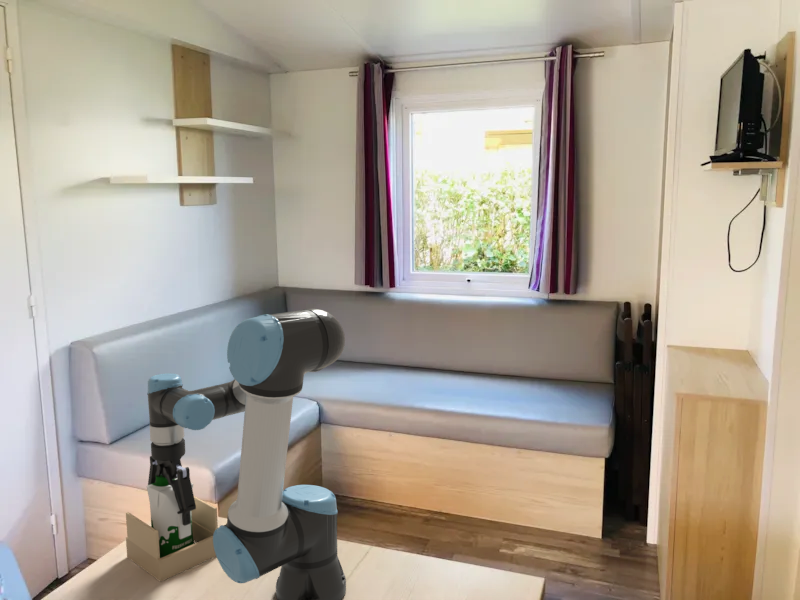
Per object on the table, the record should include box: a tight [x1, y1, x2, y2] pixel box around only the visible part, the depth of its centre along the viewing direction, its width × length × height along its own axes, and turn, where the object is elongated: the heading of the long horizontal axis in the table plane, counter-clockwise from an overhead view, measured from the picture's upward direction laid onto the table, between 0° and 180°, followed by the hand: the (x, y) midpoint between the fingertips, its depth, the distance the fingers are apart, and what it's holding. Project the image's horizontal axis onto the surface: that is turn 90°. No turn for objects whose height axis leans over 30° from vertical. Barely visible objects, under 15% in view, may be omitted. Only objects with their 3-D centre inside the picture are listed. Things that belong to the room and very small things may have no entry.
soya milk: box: [146, 475, 195, 558], centre depth 155 cm, size 9×9×20 cm
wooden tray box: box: [125, 495, 219, 582], centre depth 155 cm, size 16×16×12 cm
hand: (172, 528), depth 155 cm, fingers open, 10 cm apart
